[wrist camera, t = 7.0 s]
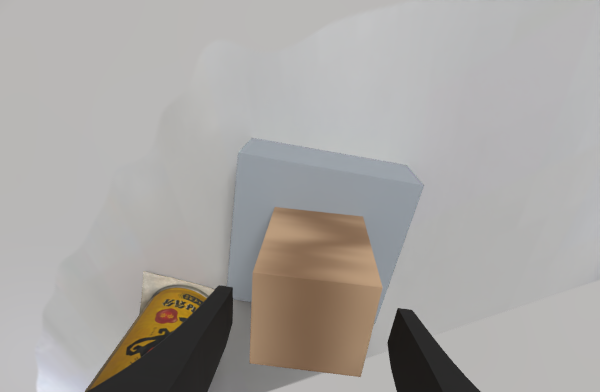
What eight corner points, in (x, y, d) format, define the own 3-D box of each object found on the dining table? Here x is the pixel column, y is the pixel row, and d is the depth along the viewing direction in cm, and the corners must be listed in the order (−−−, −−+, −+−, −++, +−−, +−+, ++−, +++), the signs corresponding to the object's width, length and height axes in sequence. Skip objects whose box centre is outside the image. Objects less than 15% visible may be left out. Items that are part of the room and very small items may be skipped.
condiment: (234, 293, 25) (163, 478, 14) (216, 362, 28) (148, 555, 17) (145, 268, 24) (-3, 439, 13) (138, 341, 28) (16, 526, 17)
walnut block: (362, 216, 17) (382, 287, 12) (349, 287, 19) (360, 377, 14) (274, 206, 17) (252, 272, 12) (270, 278, 19) (249, 363, 14)
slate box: (405, 163, 20) (423, 185, 16) (366, 283, 24) (375, 323, 20) (253, 136, 20) (238, 152, 16) (240, 261, 24) (226, 297, 20)
